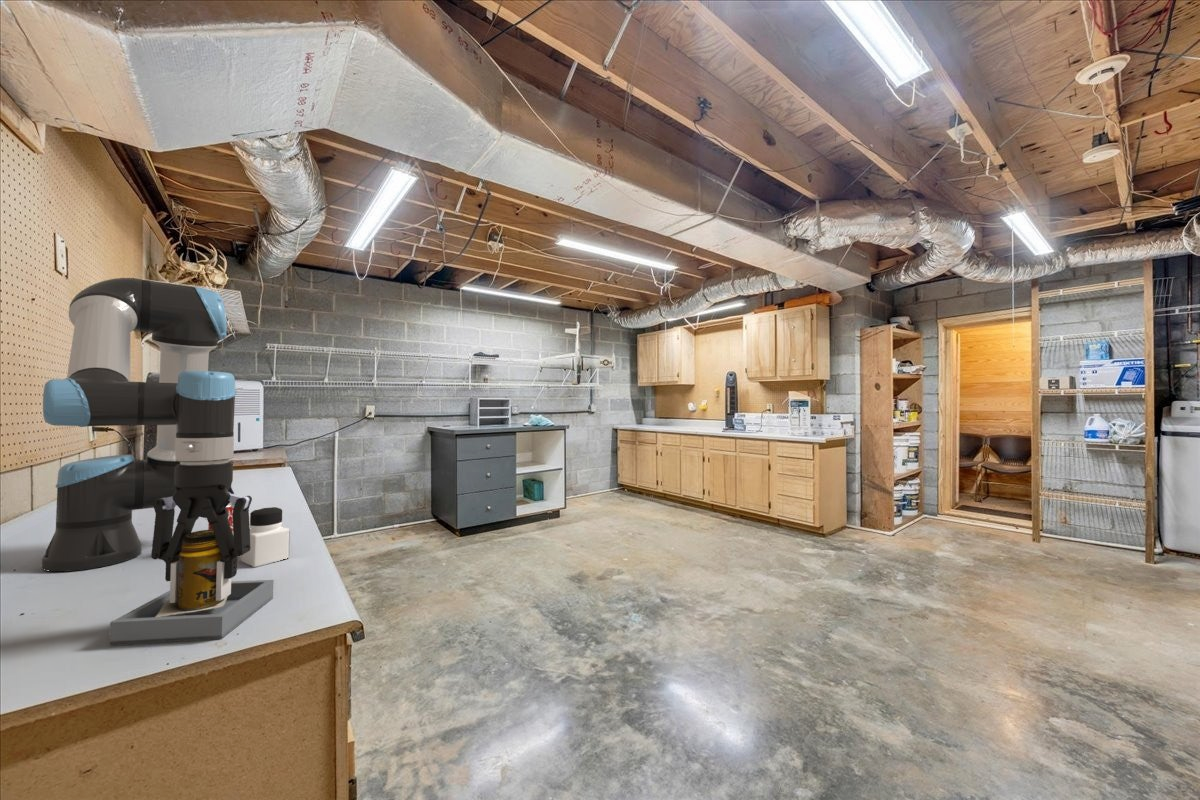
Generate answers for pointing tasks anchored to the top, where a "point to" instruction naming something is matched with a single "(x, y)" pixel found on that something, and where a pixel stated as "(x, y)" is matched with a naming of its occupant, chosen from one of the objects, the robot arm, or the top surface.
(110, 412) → the robot arm
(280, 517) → the medicine bottle
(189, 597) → the condiment
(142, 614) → the tray
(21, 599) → the top surface
